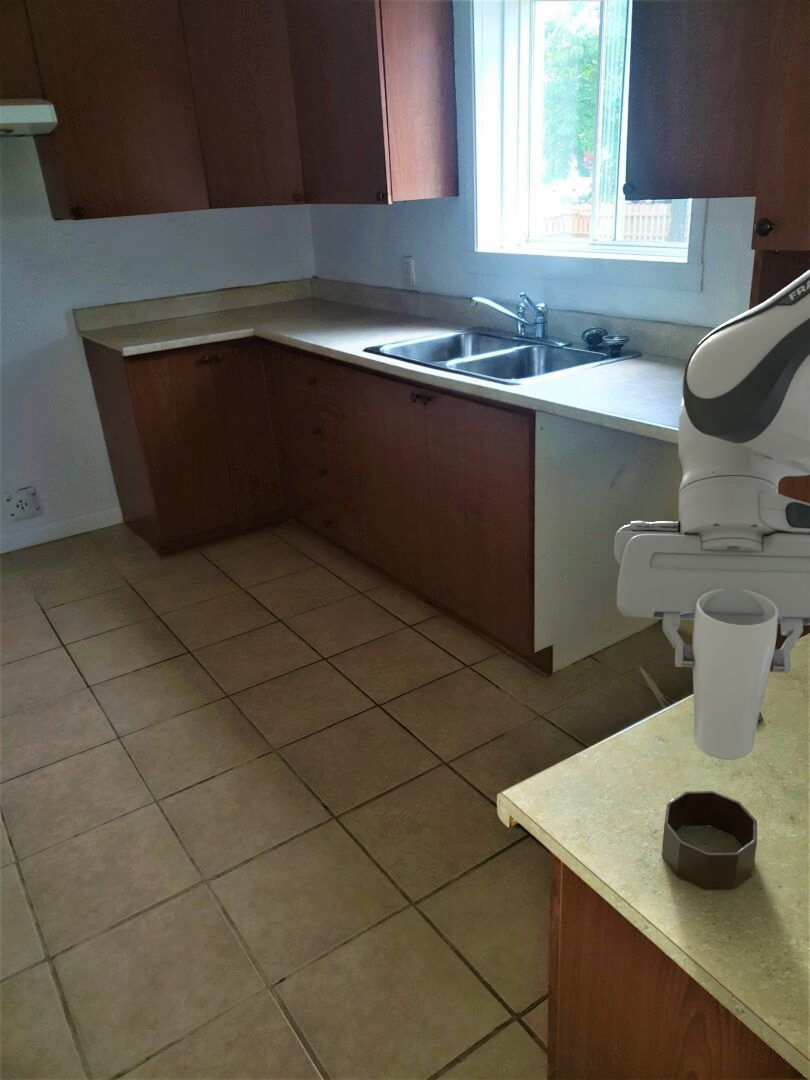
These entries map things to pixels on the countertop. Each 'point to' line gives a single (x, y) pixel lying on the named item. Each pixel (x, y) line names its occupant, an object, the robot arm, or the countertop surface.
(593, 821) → the countertop surface
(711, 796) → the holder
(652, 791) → the countertop surface
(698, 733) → the drinking glass
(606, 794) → the countertop surface
